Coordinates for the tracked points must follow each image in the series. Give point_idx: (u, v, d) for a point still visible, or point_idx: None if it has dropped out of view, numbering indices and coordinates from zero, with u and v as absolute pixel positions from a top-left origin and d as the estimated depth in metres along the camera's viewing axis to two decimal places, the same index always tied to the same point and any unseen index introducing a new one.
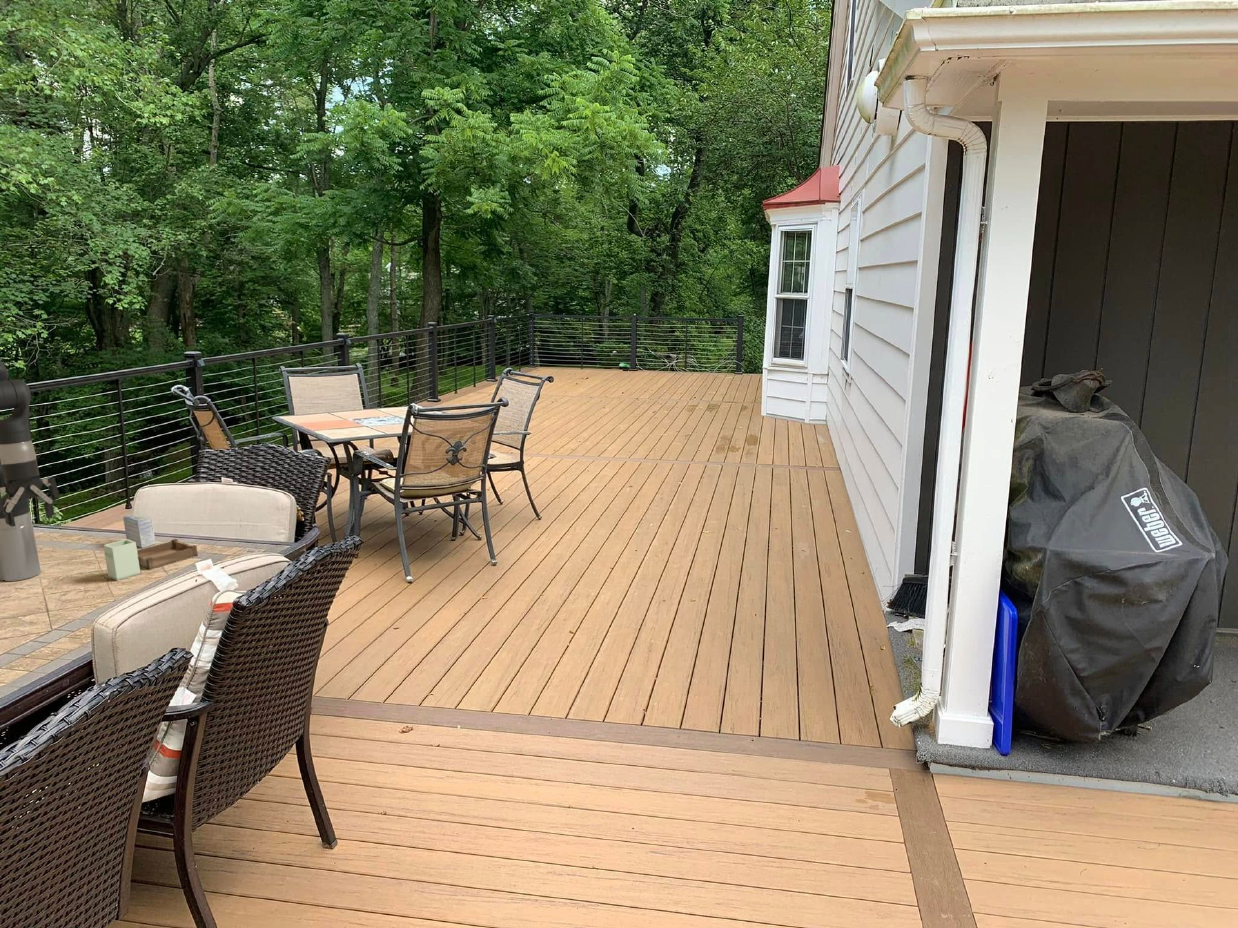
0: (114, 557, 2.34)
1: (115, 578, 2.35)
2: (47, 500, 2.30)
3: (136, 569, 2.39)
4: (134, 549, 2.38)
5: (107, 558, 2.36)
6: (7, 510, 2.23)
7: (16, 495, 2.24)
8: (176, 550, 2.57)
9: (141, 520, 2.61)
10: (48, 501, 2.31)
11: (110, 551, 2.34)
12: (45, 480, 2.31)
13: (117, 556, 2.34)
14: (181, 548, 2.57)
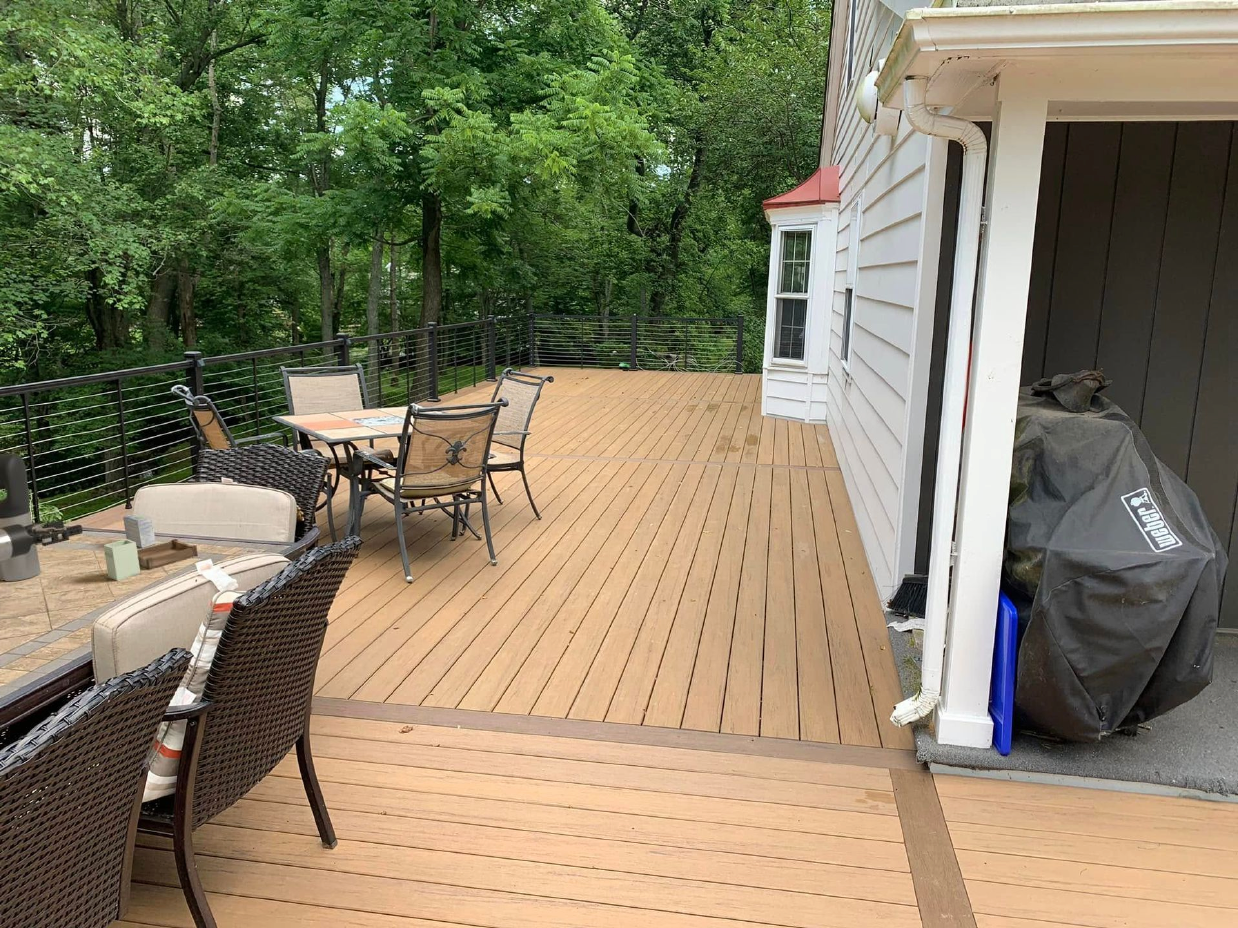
0: (114, 557, 2.34)
1: (115, 578, 2.35)
2: None
3: (136, 569, 2.39)
4: (134, 549, 2.38)
5: (107, 558, 2.36)
6: None
7: None
8: (176, 550, 2.57)
9: (141, 520, 2.61)
10: None
11: (110, 551, 2.34)
12: None
13: (117, 556, 2.34)
14: (181, 548, 2.57)
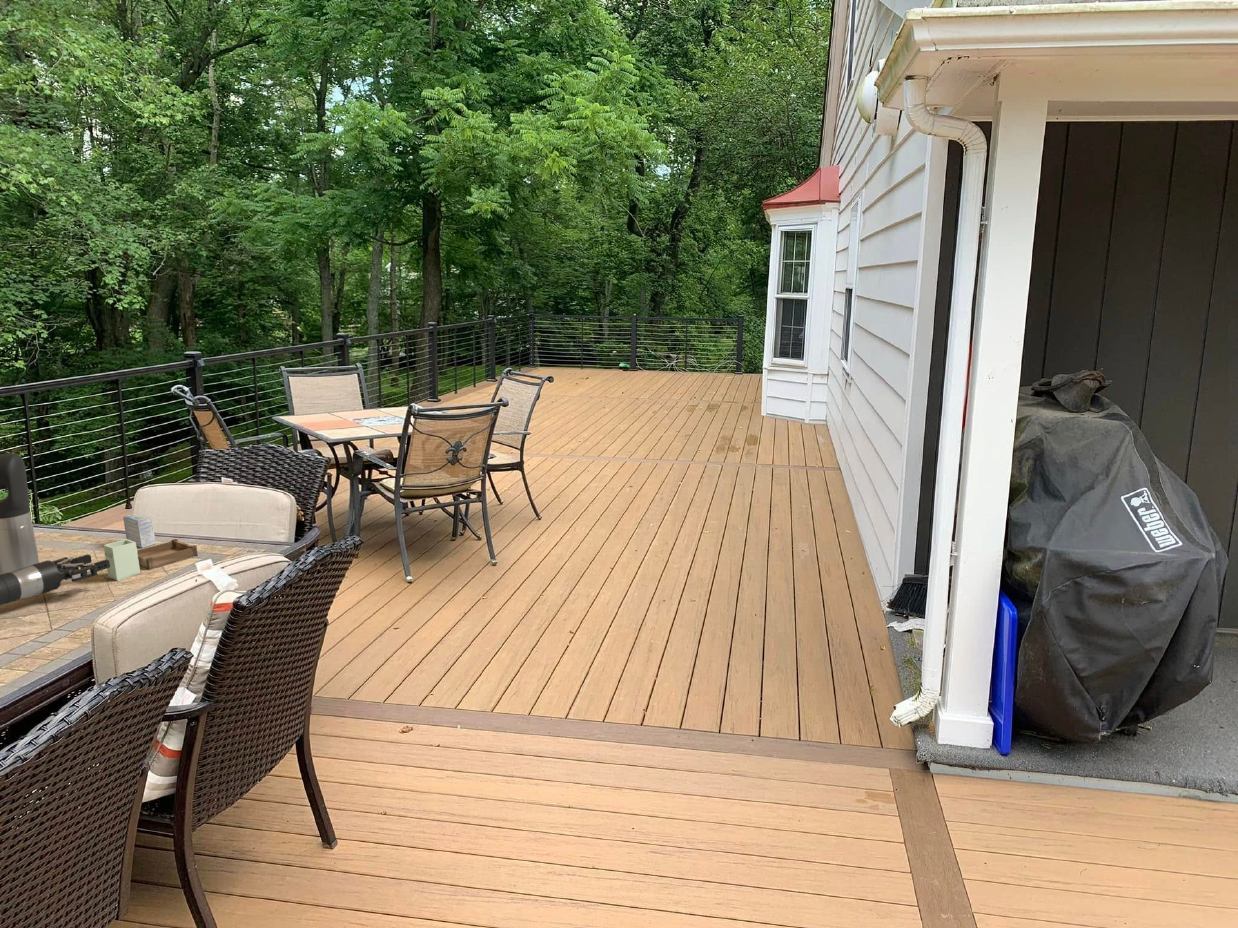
0: (114, 557, 2.34)
1: (115, 578, 2.35)
2: None
3: (136, 569, 2.39)
4: (134, 549, 2.38)
5: (107, 558, 2.36)
6: None
7: None
8: (176, 550, 2.57)
9: (141, 520, 2.61)
10: None
11: (110, 551, 2.34)
12: None
13: (117, 556, 2.34)
14: (181, 548, 2.57)
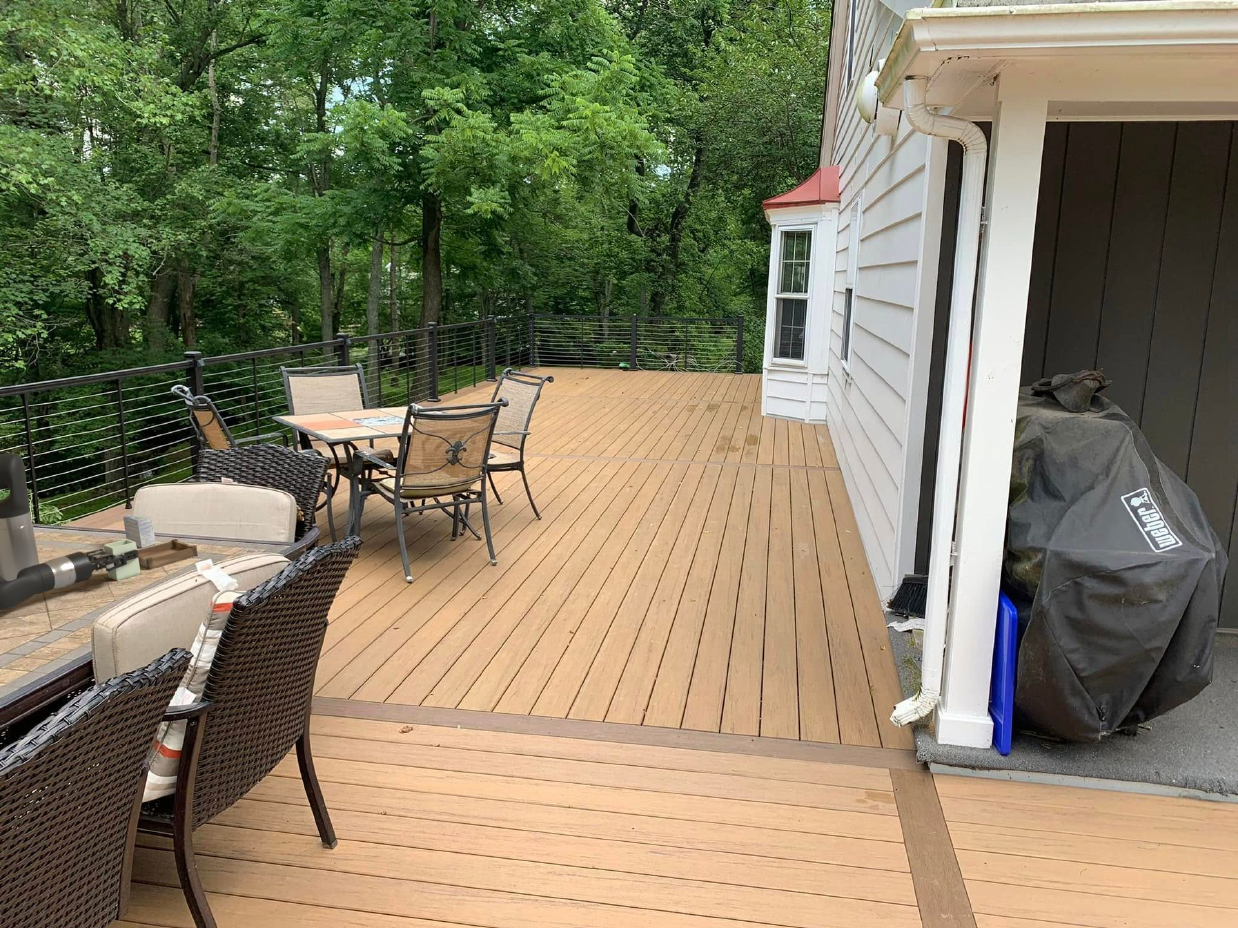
0: None
1: (115, 578, 2.35)
2: None
3: (136, 569, 2.39)
4: (134, 549, 2.38)
5: None
6: None
7: None
8: (176, 550, 2.57)
9: (141, 520, 2.61)
10: None
11: (110, 551, 2.34)
12: None
13: None
14: (181, 548, 2.57)
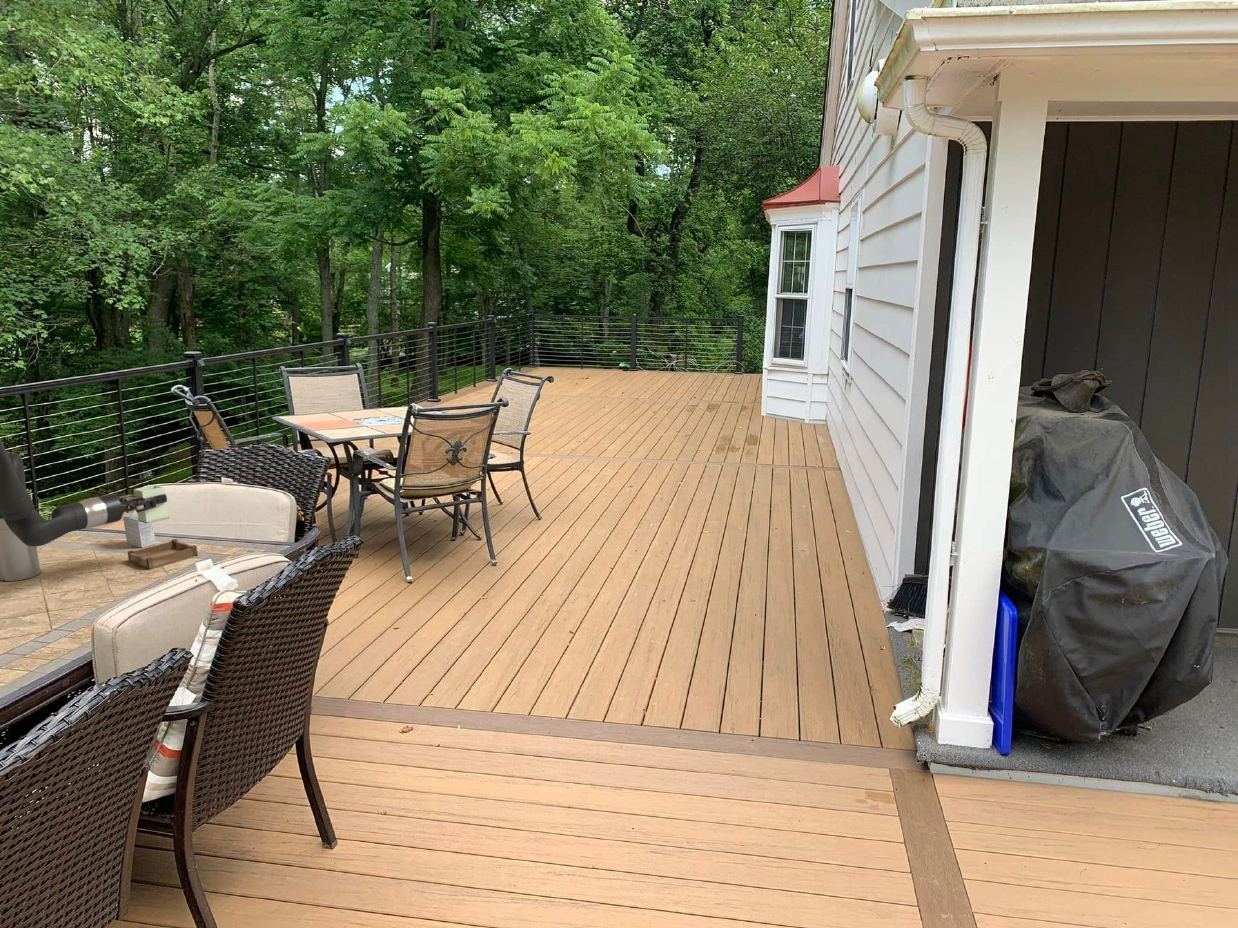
0: None
1: (145, 521, 2.44)
2: None
3: (165, 513, 2.47)
4: (163, 493, 2.46)
5: None
6: None
7: None
8: (176, 550, 2.57)
9: None
10: None
11: (140, 494, 2.42)
12: (134, 508, 2.37)
13: None
14: (181, 548, 2.57)
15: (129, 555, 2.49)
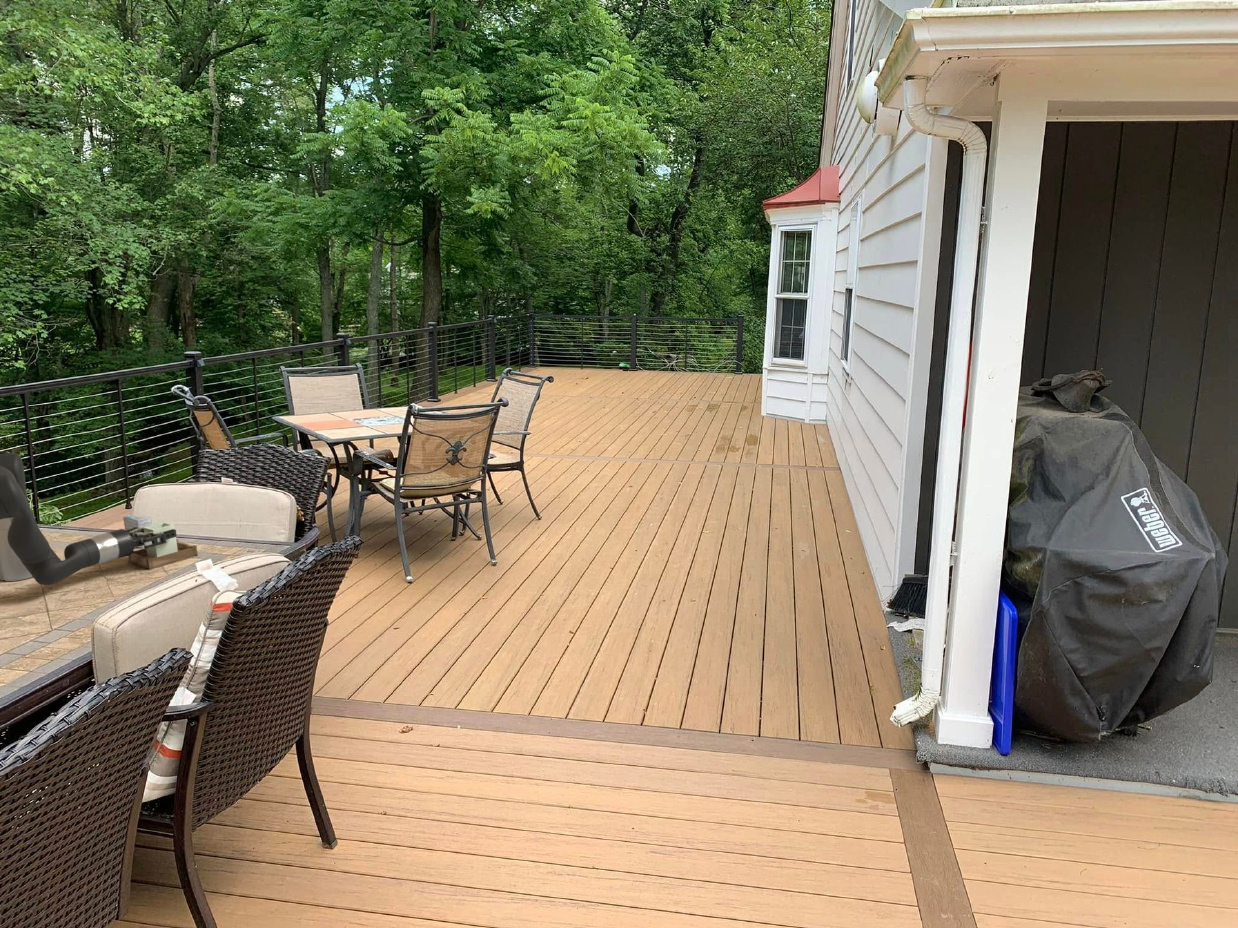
0: None
1: None
2: None
3: (174, 550, 2.52)
4: None
5: None
6: None
7: None
8: None
9: (141, 520, 2.61)
10: None
11: None
12: None
13: None
14: (181, 548, 2.57)
15: (129, 555, 2.49)
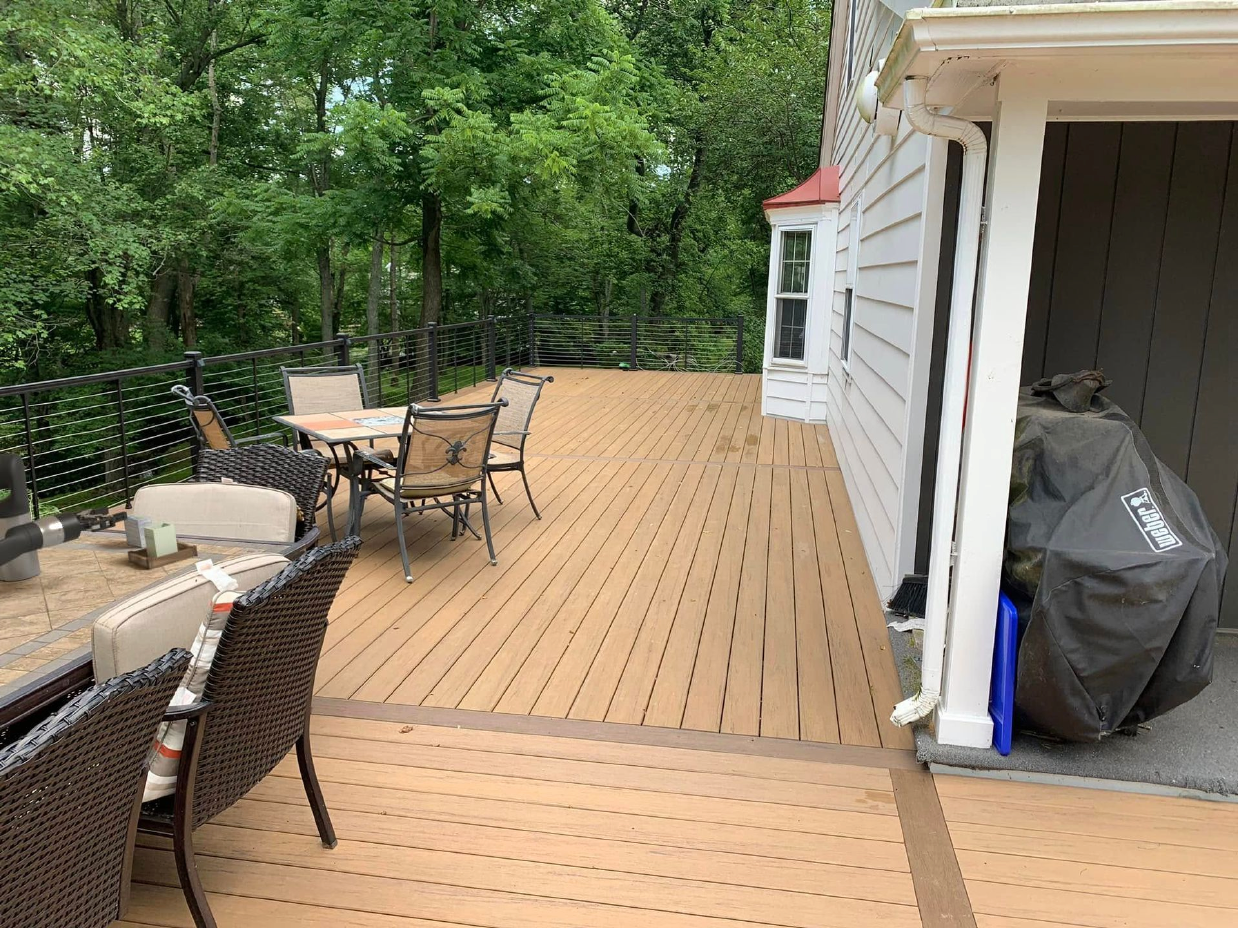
0: (155, 538, 2.47)
1: None
2: None
3: (174, 550, 2.52)
4: (173, 531, 2.51)
5: (147, 540, 2.49)
6: None
7: None
8: None
9: (141, 520, 2.61)
10: None
11: (151, 533, 2.47)
12: None
13: (158, 537, 2.47)
14: (181, 548, 2.57)
15: (129, 555, 2.49)
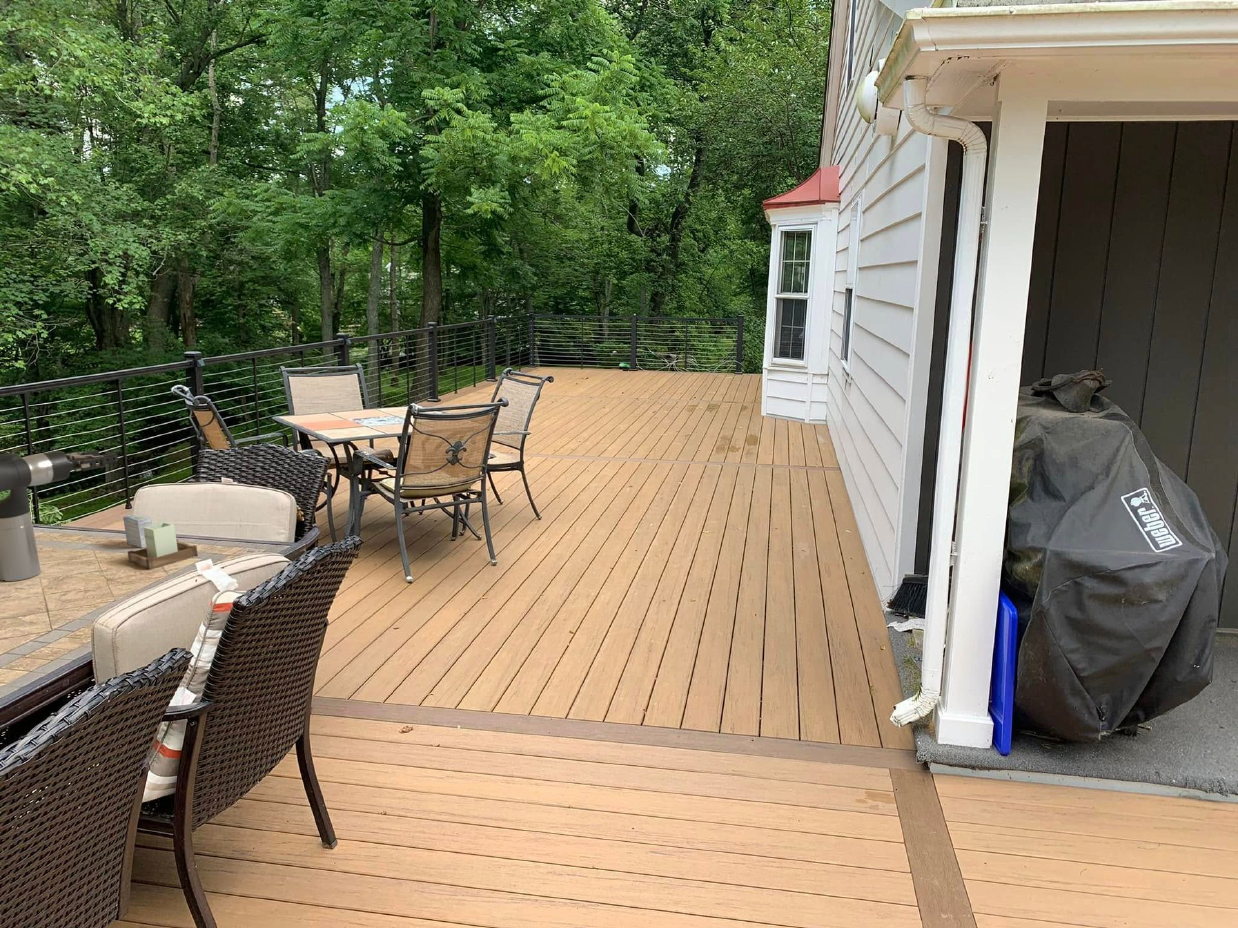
0: (155, 538, 2.47)
1: None
2: None
3: (174, 550, 2.52)
4: (173, 531, 2.51)
5: (147, 540, 2.49)
6: None
7: None
8: None
9: (141, 520, 2.61)
10: None
11: (151, 533, 2.47)
12: (80, 467, 2.25)
13: (158, 537, 2.47)
14: (181, 548, 2.57)
15: (129, 555, 2.49)
